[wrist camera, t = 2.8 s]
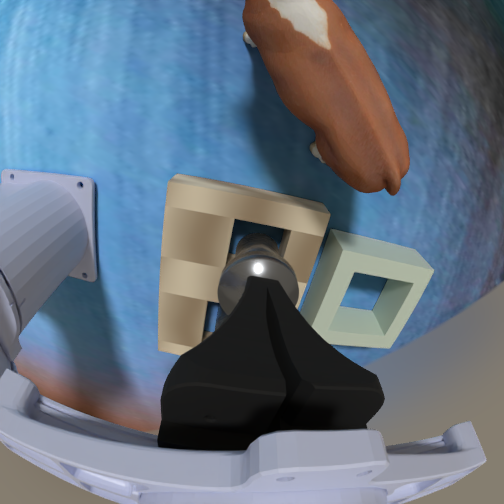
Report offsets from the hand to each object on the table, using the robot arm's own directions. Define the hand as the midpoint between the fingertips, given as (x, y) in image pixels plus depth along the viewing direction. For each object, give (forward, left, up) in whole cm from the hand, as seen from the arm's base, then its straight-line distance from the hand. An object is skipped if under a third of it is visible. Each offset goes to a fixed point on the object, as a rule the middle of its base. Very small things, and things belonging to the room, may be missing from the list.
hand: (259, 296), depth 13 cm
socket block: (0, -4, -6) cm, 7 cm away
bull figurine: (0, +11, -7) cm, 13 cm away
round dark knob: (0, 0, -4) cm, 4 cm away
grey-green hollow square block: (+8, -2, -6) cm, 10 cm away
